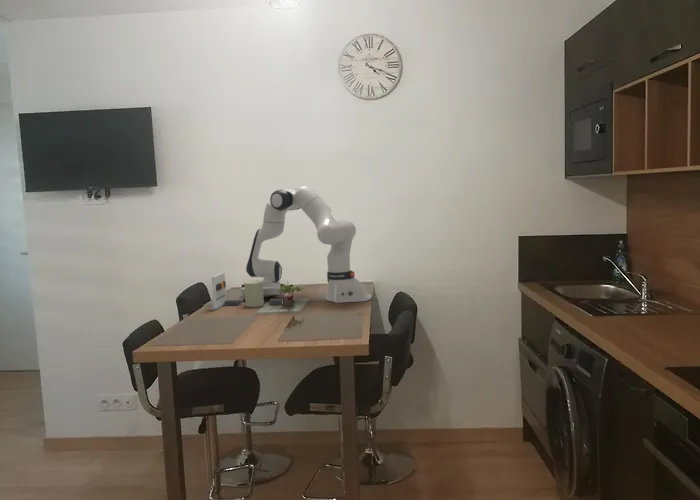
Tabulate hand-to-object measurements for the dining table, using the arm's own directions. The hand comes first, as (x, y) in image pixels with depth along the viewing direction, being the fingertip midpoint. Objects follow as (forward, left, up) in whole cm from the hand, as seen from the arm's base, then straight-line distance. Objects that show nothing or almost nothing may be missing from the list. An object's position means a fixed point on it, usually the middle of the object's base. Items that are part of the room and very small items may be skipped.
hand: (256, 293), depth 291 cm
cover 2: (-11, +3, -5) cm, 13 cm away
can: (0, +4, -5) cm, 7 cm away
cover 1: (+11, +3, -5) cm, 13 cm away
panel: (+16, +7, -5) cm, 19 cm away
